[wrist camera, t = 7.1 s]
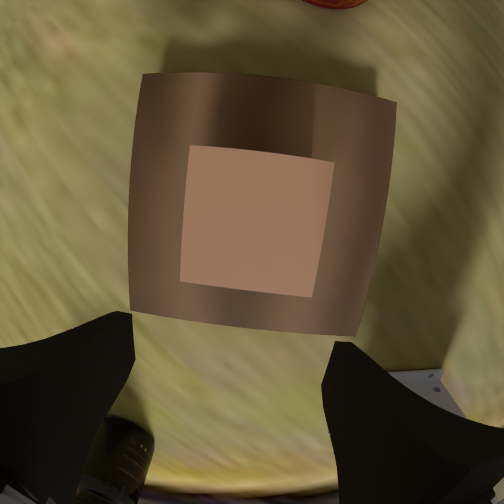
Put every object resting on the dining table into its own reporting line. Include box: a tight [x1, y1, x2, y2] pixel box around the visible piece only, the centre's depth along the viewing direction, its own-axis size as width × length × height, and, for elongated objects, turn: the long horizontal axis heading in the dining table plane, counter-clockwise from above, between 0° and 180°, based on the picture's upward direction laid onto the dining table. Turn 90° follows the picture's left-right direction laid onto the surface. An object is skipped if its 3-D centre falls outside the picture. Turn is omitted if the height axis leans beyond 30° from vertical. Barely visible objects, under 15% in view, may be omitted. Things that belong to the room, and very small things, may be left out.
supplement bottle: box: [74, 417, 154, 504], centre depth 19 cm, size 7×7×12 cm
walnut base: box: [128, 72, 397, 336], centre depth 17 cm, size 14×14×3 cm
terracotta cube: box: [180, 145, 334, 297], centre depth 13 cm, size 5×5×5 cm
